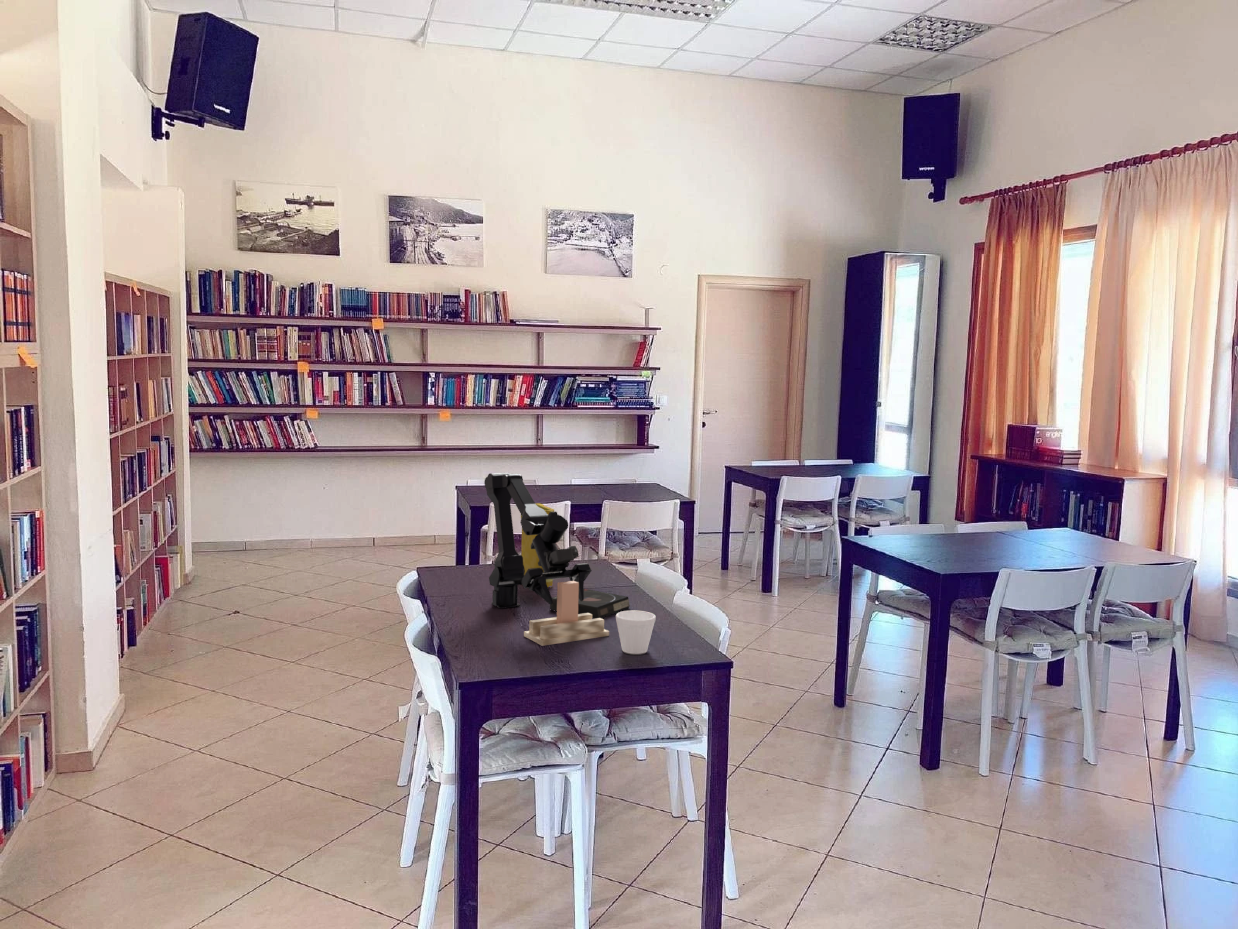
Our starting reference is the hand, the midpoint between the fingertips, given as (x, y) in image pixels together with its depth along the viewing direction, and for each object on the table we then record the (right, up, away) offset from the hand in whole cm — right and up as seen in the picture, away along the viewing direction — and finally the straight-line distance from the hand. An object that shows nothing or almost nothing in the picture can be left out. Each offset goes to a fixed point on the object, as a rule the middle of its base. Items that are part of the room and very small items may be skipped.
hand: (567, 602), depth 243 cm
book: (-13, -3, +62) cm, 64 cm away
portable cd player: (+5, -7, +29) cm, 31 cm away
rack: (0, -9, +1) cm, 9 cm away
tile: (0, -8, +1) cm, 8 cm away
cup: (+17, -11, -11) cm, 23 cm away
